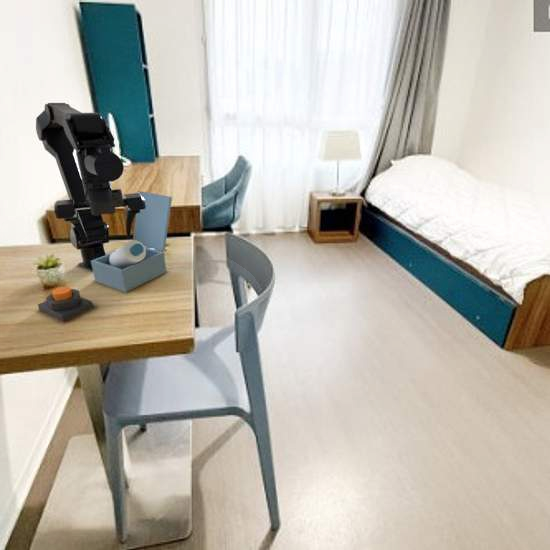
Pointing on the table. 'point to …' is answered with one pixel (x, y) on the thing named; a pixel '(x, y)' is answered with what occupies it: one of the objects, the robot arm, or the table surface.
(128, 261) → the detergent bottle
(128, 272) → the blue open box
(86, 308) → the control block
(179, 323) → the table surface
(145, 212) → the blue-grey box lid
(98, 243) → the robot arm
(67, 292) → the button
